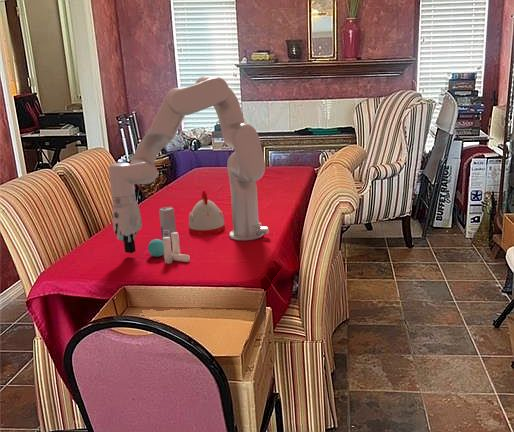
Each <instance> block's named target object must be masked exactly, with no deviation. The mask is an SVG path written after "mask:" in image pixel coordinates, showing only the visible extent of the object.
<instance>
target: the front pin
mask: <svg viewBox="0 0 514 432" xmlns="http://www.w3.org/2000/svg"><path fill="white" fill-rule="evenodd" d="M163 258H164V260H165V256H164V255H163ZM190 259H191V258H190V255H189V254H183V253H180V254H176V253H173V252H172V261H176V262H184V263H189V261H190Z"/></svg>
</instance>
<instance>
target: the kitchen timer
mask: <svg viewBox="0 0 514 432" xmlns="http://www.w3.org/2000/svg"><path fill="white" fill-rule="evenodd" d="M188 215H189V216H188V231H189V233H192V234H194V235H195V234H196V235H211V234H216V233H219V232H222V231H223V230H225V226H226V225H225V220H224V215H223V211H222V210H221V209H220V208H219V206H217V204H215V202H213V201H212V200H210V199H209V197H208V194H207V192H206V191H205V190H203V191H202V193H201V200H199V201H198V202H197V203H196V204H195V205H194V207H193V208H192V210H191V211H190V212H189V214H188Z"/></svg>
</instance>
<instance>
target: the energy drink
mask: <svg viewBox="0 0 514 432" xmlns="http://www.w3.org/2000/svg"><path fill="white" fill-rule="evenodd" d="M158 215H159V223H160V231H161V233H160V235H161V240H162V241H163V238H164V237H170V241H171V242H172V238H171V233H173V232H177V229H176V228H177V227H176V218H175V209H174V207H173V206H164V207H160V208H159V210H158Z"/></svg>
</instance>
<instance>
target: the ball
mask: <svg viewBox="0 0 514 432" xmlns="http://www.w3.org/2000/svg"><path fill="white" fill-rule="evenodd" d="M147 249H148V250H147V251H148V253H149V254H150V255H151V256H152V257H156V258H158V257H162V255H163V256H164V246H163V240H162V239H159V238H154V239H152V240H151V241H150V242H149V243H148V246H147Z"/></svg>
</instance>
